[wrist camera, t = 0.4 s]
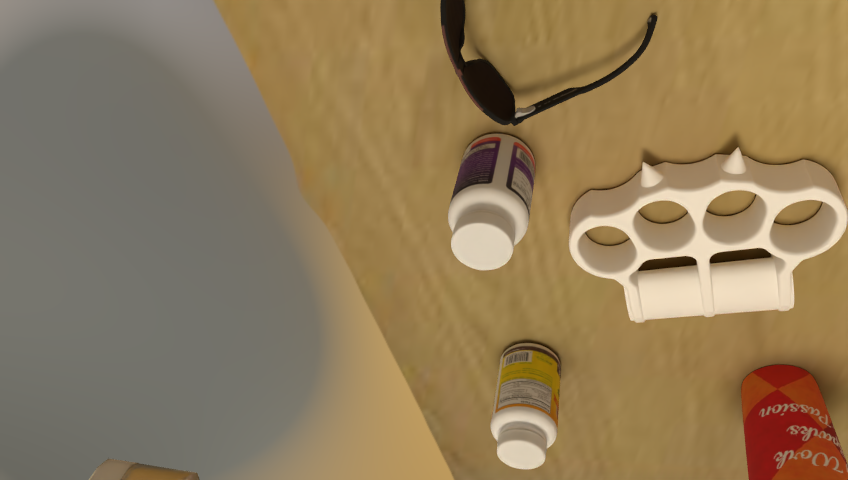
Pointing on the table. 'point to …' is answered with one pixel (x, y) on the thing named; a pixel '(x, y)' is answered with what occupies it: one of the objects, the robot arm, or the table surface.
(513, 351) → the supplement bottle
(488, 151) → the pill bottle
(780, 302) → the white brass knuckles
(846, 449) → the table surface
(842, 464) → the coffee cup
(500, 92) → the sunglasses
